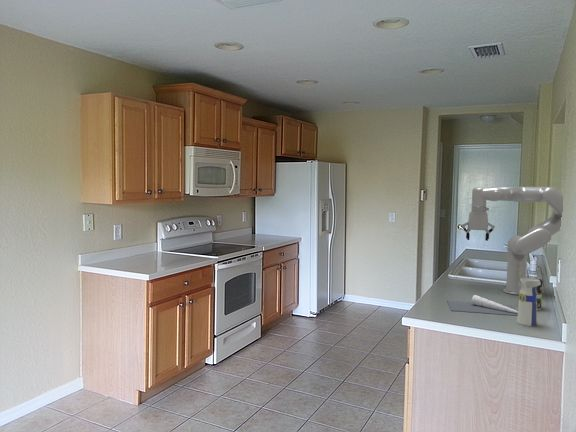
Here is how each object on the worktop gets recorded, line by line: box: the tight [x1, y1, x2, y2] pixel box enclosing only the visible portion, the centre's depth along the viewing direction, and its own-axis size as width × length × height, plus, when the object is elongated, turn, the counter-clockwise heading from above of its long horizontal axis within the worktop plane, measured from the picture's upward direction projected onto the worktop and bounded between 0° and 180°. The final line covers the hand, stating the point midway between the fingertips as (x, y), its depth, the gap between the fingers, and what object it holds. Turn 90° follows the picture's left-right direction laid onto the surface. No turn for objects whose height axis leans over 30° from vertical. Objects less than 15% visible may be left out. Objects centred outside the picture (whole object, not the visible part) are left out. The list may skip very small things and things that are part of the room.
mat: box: [447, 300, 518, 317], centre depth 222 cm, size 30×18×1 cm, turn 77°
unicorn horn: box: [470, 294, 518, 314], centre depth 219 cm, size 5×24×5 cm, turn 38°
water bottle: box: [516, 266, 541, 327], centre depth 198 cm, size 8×9×25 cm
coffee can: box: [517, 276, 544, 311], centre depth 224 cm, size 10×10×14 cm
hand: (477, 240), depth 258 cm, fingers open, 9 cm apart
